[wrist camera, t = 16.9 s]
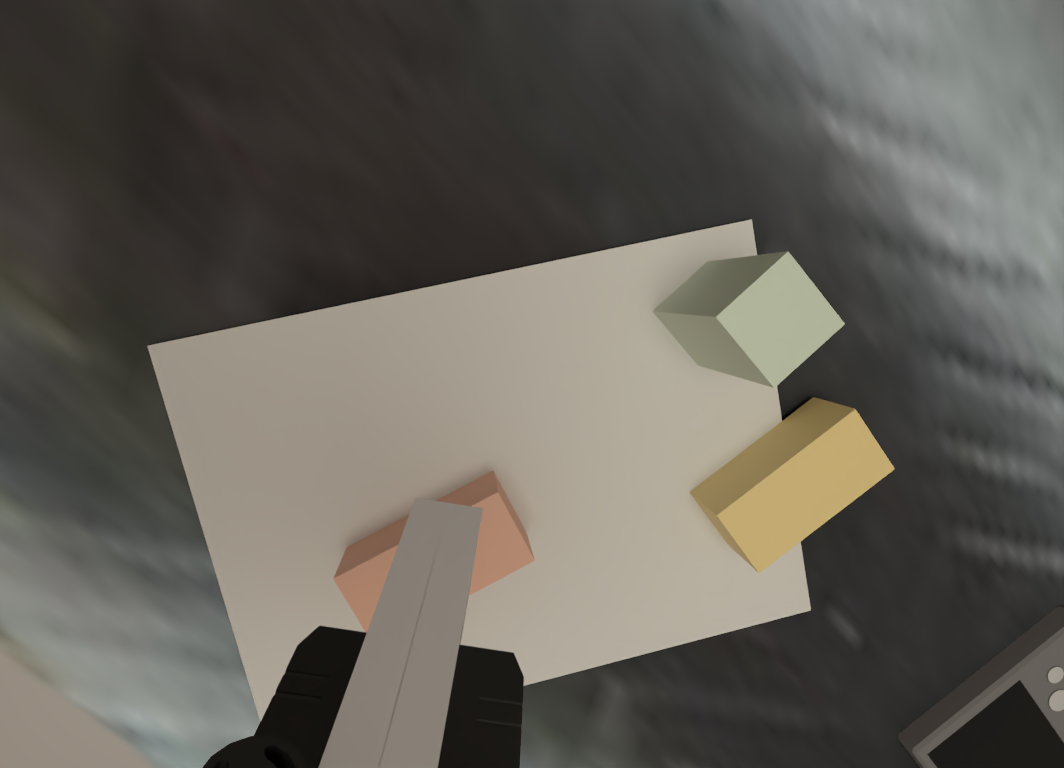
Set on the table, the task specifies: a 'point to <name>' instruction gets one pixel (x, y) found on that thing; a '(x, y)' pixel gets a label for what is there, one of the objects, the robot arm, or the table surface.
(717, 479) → the domino block
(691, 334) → the domino block
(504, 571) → the domino block
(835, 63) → the table surface
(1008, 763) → the electronic device
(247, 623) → the mat
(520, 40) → the table surface
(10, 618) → the table surface
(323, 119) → the table surface
